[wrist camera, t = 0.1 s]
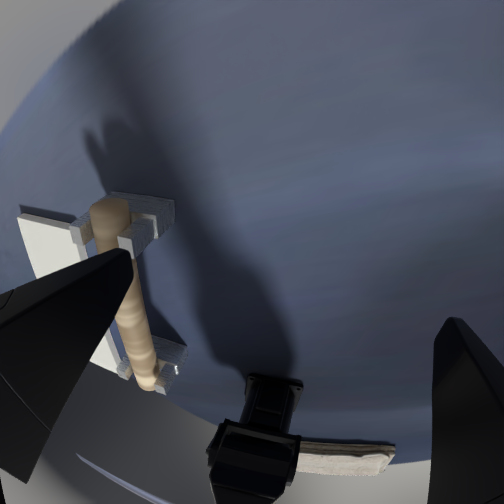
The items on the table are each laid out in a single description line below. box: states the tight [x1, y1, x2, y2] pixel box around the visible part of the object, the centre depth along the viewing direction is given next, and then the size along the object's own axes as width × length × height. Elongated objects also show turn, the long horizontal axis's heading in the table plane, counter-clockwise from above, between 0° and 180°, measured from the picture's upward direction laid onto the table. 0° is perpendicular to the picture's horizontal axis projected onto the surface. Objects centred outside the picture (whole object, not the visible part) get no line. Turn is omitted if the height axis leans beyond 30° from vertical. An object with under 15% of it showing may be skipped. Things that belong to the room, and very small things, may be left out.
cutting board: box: [17, 213, 121, 374], centre depth 36 cm, size 25×11×1 cm, turn 176°
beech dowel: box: [89, 198, 160, 391], centre depth 27 cm, size 22×3×3 cm, turn 176°
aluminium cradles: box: [69, 191, 188, 395], centre depth 28 cm, size 20×6×6 cm, turn 176°
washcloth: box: [296, 441, 395, 476], centre depth 42 cm, size 12×18×3 cm, turn 99°
